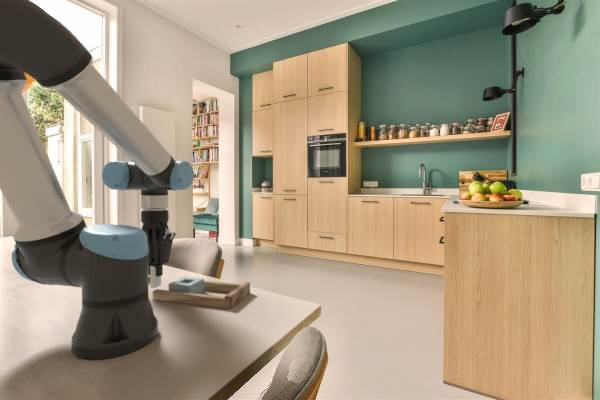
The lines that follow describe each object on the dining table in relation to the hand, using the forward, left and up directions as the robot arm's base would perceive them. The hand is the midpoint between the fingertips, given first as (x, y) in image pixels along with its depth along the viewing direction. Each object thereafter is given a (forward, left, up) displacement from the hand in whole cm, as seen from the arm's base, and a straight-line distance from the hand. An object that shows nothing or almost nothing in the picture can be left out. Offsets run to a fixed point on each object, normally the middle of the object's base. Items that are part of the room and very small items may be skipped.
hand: (155, 286), depth 92 cm
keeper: (0, -11, -1) cm, 11 cm away
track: (0, -16, -1) cm, 16 cm away
